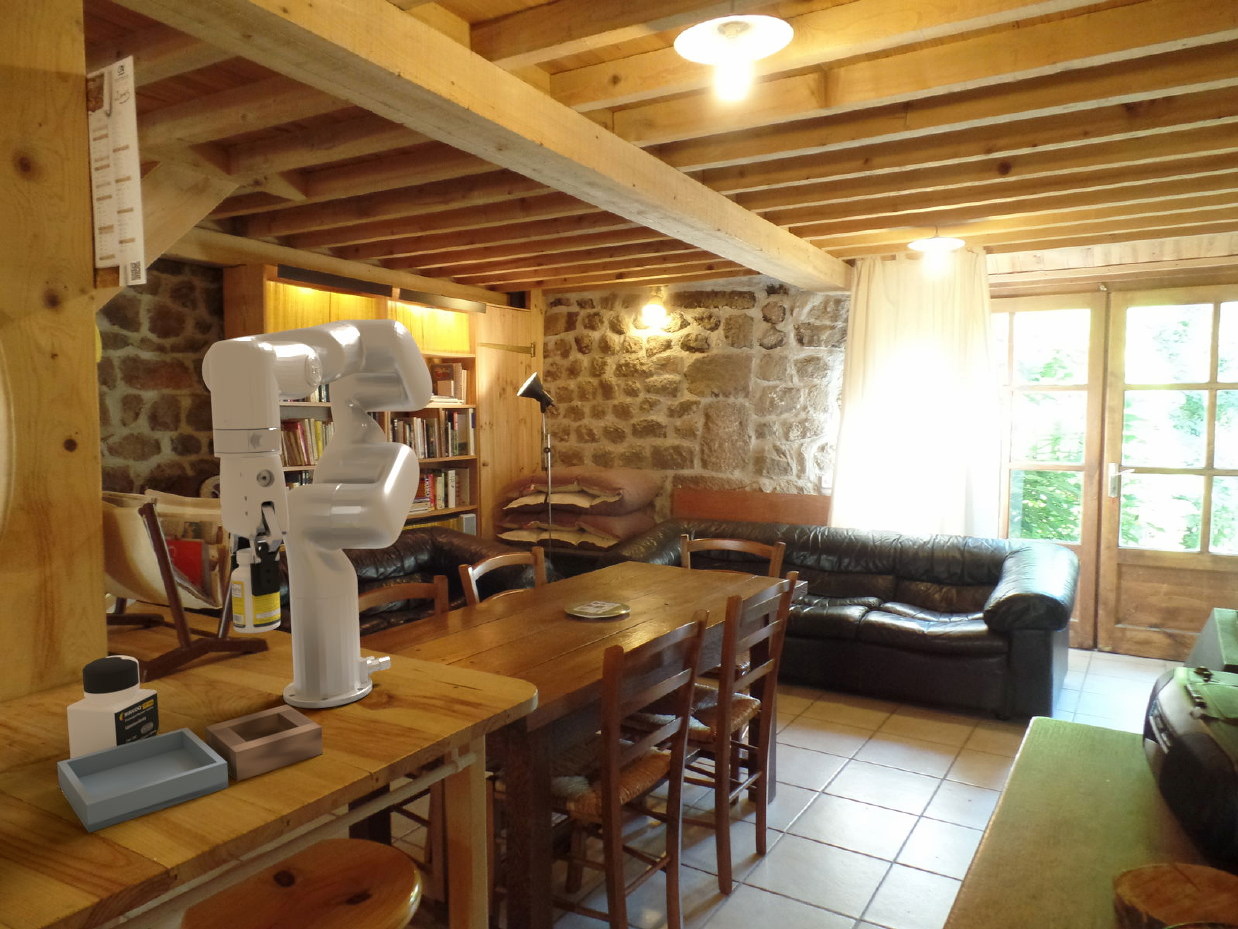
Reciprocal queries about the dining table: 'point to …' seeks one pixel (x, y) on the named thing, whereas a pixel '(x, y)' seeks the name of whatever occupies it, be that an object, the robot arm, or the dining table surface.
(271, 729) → the small brown open box
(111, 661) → the medicine bottle
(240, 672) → the dining table surface
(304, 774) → the dining table surface
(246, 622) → the supplement bottle
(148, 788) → the pin tray
